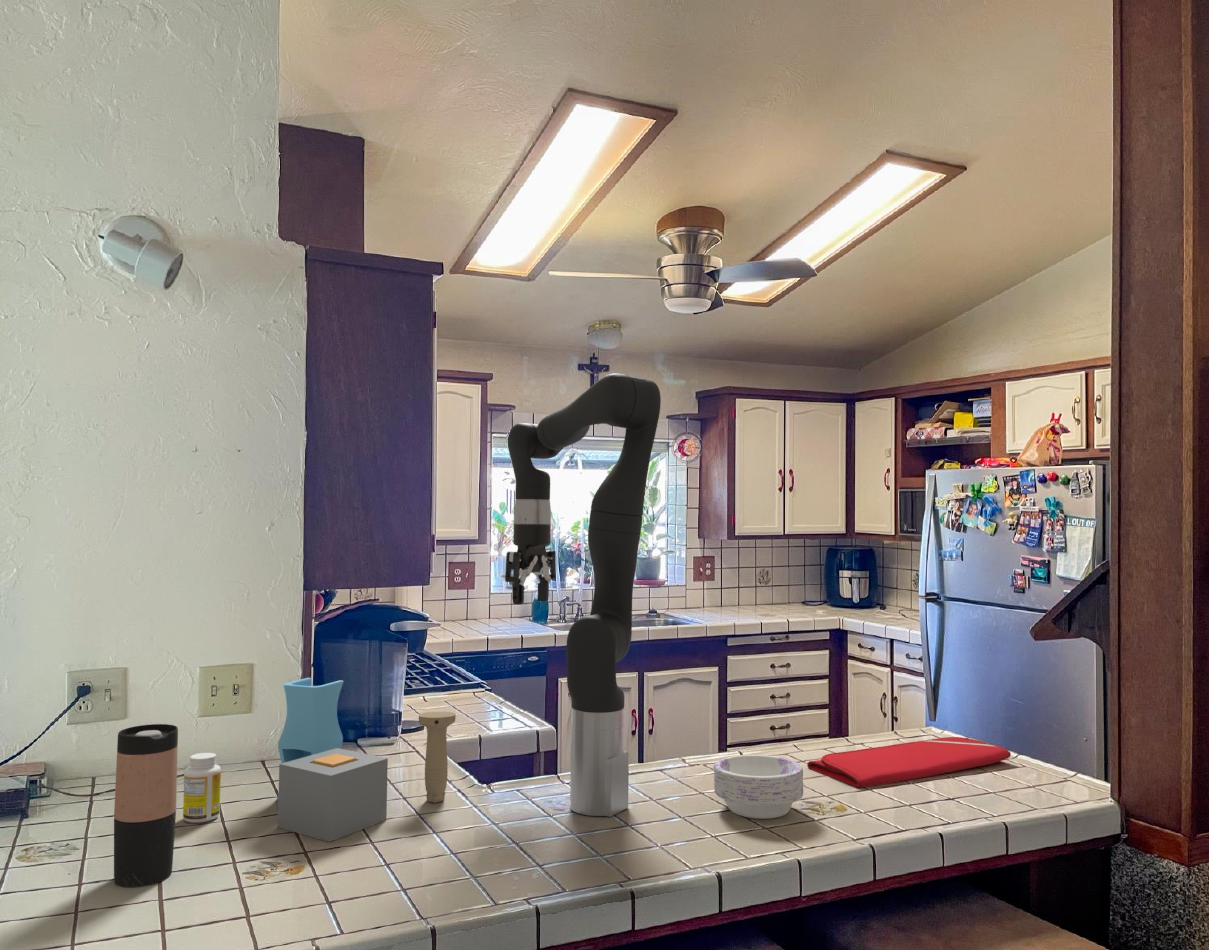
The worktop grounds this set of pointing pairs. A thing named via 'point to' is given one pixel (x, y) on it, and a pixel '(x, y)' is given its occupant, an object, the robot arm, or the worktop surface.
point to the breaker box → (332, 795)
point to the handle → (436, 753)
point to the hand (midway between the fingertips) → (530, 602)
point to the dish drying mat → (907, 761)
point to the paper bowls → (758, 784)
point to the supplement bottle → (202, 789)
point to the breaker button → (334, 760)
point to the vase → (310, 720)
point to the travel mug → (145, 804)
